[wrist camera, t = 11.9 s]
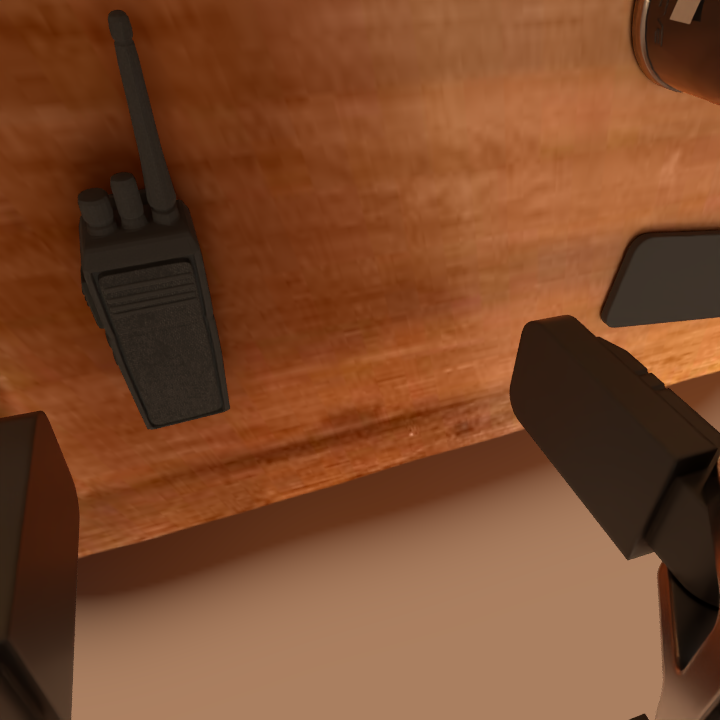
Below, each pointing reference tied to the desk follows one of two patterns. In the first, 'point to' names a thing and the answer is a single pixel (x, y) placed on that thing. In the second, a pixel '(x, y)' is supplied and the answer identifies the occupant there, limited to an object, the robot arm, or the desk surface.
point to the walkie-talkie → (150, 273)
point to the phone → (666, 280)
